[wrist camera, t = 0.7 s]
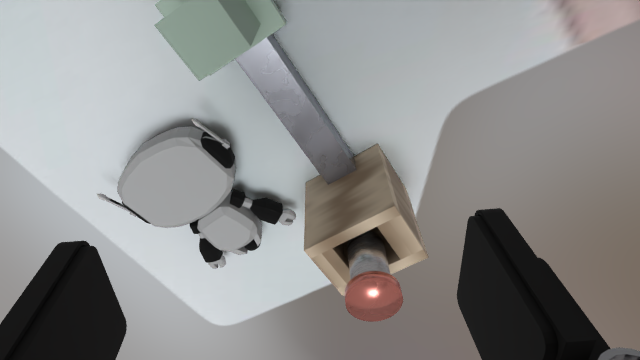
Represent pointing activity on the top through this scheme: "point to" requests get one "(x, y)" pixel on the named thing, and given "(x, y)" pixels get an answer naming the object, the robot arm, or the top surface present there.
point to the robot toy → (195, 192)
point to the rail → (297, 108)
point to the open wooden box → (360, 217)
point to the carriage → (216, 29)
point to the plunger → (371, 280)
